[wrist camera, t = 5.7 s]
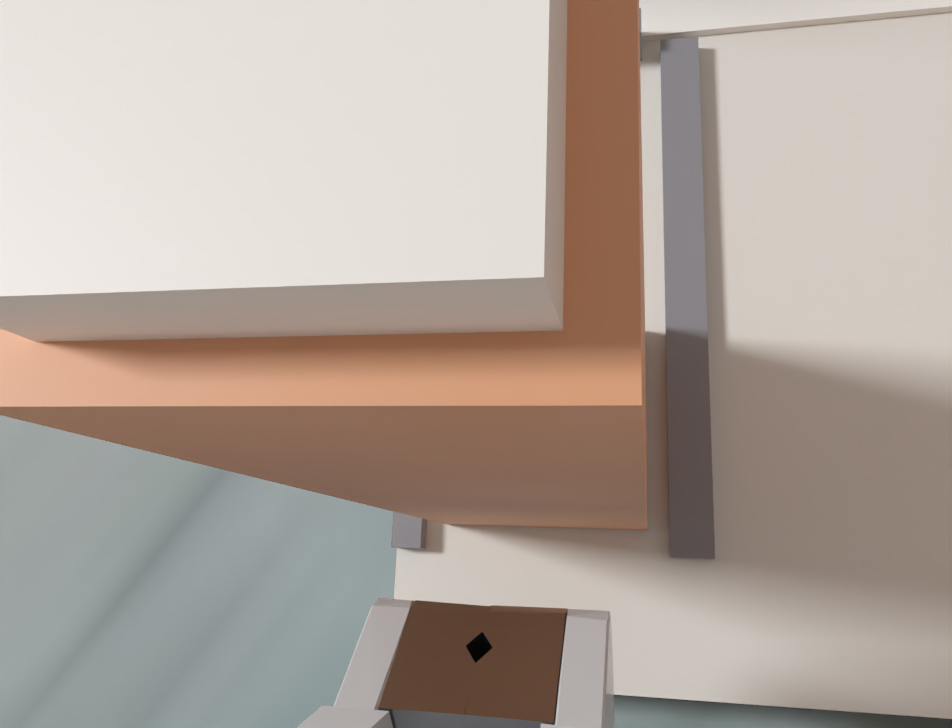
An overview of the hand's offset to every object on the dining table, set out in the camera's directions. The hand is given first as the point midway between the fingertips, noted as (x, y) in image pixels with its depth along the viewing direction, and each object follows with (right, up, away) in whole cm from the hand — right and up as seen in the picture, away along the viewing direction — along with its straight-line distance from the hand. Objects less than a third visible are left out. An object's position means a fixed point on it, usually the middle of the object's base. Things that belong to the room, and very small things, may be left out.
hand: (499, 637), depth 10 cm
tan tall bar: (+1, +2, +6) cm, 7 cm away
